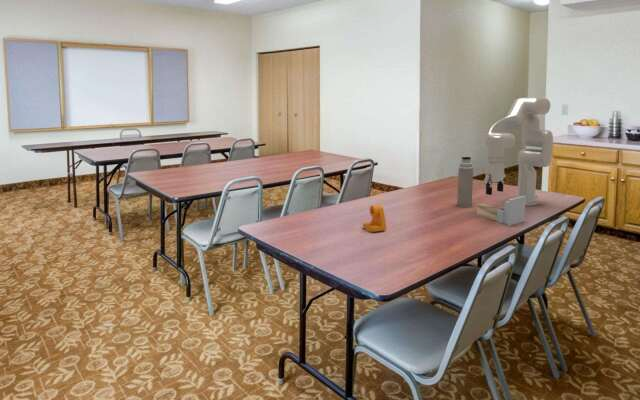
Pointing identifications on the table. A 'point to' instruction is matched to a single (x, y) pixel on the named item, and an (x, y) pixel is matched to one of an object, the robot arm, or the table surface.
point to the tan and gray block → (488, 211)
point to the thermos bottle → (465, 183)
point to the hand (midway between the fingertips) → (494, 192)
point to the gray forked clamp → (512, 211)
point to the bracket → (376, 219)
